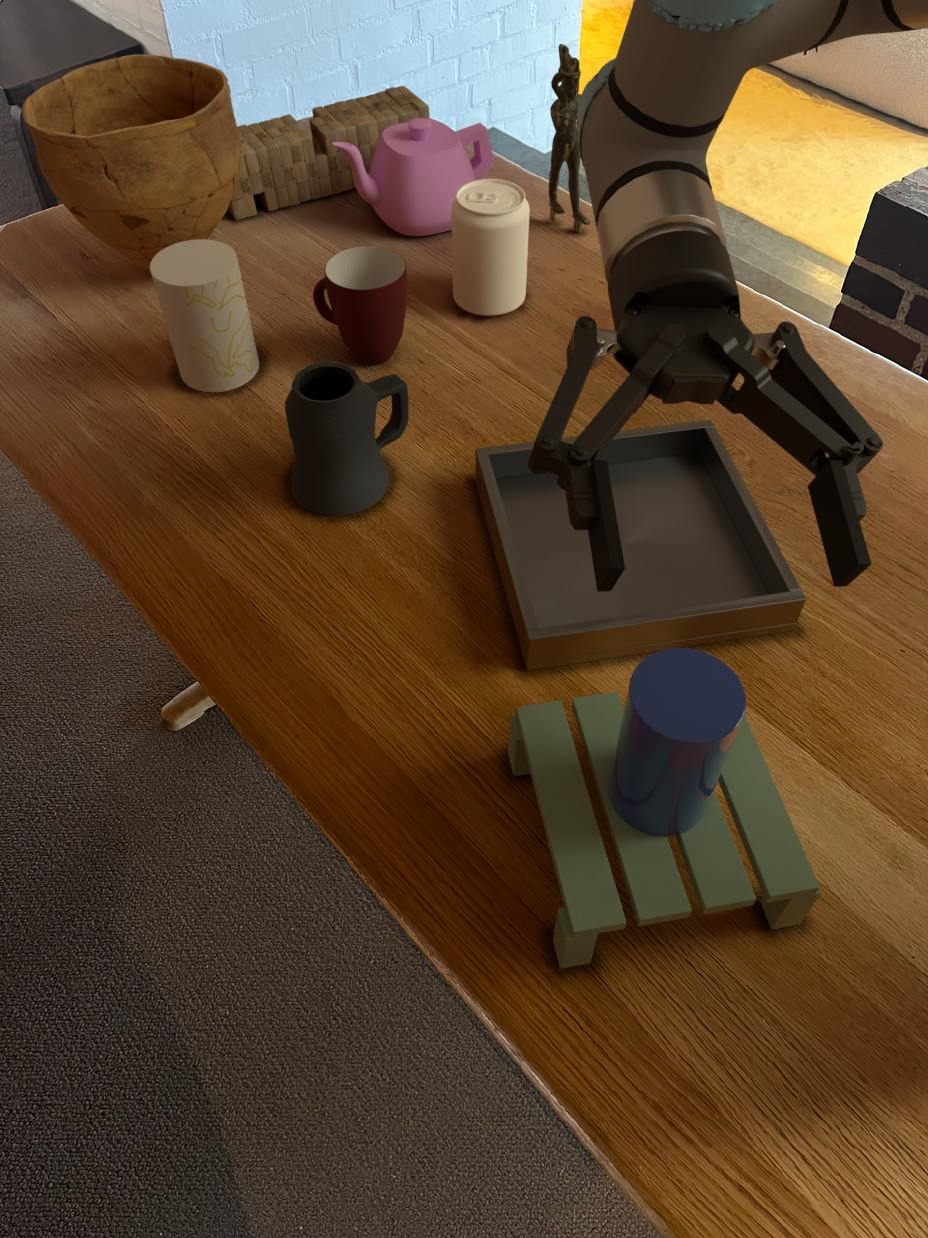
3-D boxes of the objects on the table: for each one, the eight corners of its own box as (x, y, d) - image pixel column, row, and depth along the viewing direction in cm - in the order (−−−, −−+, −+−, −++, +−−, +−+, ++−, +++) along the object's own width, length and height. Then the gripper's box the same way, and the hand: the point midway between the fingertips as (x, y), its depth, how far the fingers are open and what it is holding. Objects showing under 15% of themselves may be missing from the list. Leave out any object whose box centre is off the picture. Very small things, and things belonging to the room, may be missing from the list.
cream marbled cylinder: (213, 402, 96) (185, 296, 87) (164, 369, 100) (132, 263, 90) (275, 365, 100) (254, 259, 91) (226, 335, 103) (201, 230, 94)
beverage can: (520, 323, 104) (524, 218, 95) (447, 316, 105) (444, 211, 96) (529, 282, 109) (535, 179, 100) (460, 276, 110) (458, 173, 101)
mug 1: (301, 363, 100) (286, 276, 92) (333, 321, 105) (321, 235, 97) (394, 383, 98) (387, 296, 90) (423, 339, 103) (418, 253, 95)
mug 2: (321, 530, 85) (304, 430, 76) (273, 473, 90) (251, 373, 81) (434, 476, 89) (429, 376, 80) (382, 425, 94) (373, 325, 85)
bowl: (78, 330, 104) (8, 144, 89) (85, 235, 117) (26, 57, 101) (269, 307, 107) (235, 121, 91) (256, 216, 119) (224, 40, 104)
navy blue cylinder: (722, 827, 60) (764, 732, 51) (623, 844, 59) (648, 751, 51) (689, 741, 64) (722, 639, 55) (596, 756, 63) (615, 656, 55)
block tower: (225, 231, 119) (434, 168, 127) (209, 163, 112) (430, 101, 120) (205, 202, 123) (408, 143, 131) (188, 136, 117) (403, 78, 124)
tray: (793, 631, 77) (806, 598, 74) (526, 671, 75) (529, 639, 72) (703, 452, 91) (711, 418, 88) (475, 481, 89) (475, 448, 86)
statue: (570, 246, 114) (585, 66, 99) (533, 226, 117) (542, 48, 102) (597, 232, 116) (616, 53, 101) (560, 213, 119) (572, 36, 104)
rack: (800, 924, 62) (826, 886, 57) (559, 969, 60) (566, 933, 56) (716, 720, 72) (733, 673, 67) (507, 753, 70) (510, 707, 66)
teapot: (325, 206, 121) (314, 115, 112) (470, 174, 126) (470, 84, 117) (361, 258, 113) (351, 164, 104) (514, 222, 118) (517, 129, 109)
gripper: (825, 317, 65) (909, 602, 56) (460, 307, 61) (492, 612, 52) (883, 231, 58) (990, 541, 49) (477, 214, 54) (517, 547, 46)
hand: (734, 578), depth 51 cm, fingers open, 13 cm apart
